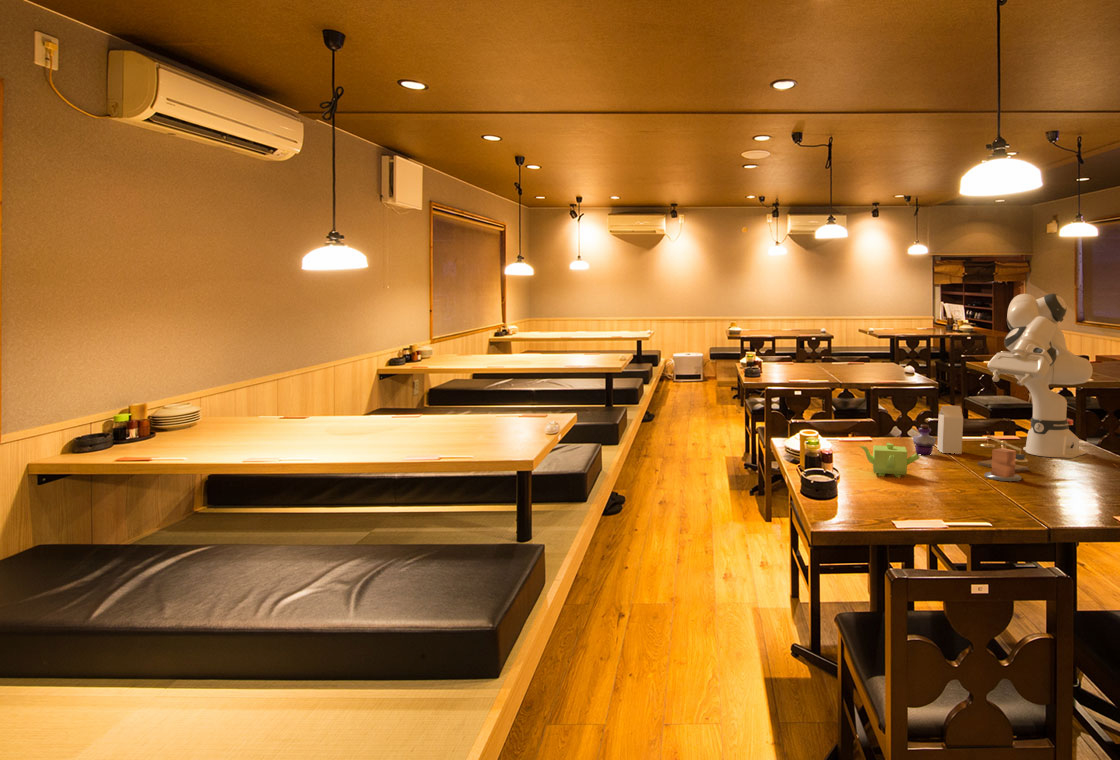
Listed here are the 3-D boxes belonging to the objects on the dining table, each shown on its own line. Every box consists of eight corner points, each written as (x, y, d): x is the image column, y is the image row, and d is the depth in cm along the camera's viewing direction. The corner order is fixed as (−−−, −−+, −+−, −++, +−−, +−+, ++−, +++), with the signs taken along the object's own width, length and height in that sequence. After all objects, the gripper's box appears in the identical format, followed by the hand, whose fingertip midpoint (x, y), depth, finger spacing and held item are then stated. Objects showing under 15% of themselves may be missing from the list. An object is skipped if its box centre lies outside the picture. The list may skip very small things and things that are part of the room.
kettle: (857, 472, 265) (858, 442, 264) (885, 468, 272) (886, 438, 270) (892, 481, 252) (893, 449, 251) (920, 476, 258) (921, 445, 257)
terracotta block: (1001, 473, 257) (1002, 448, 256) (1014, 476, 253) (1015, 450, 252) (991, 474, 255) (992, 449, 254) (1004, 477, 251) (1006, 452, 250)
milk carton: (961, 454, 292) (963, 407, 290) (942, 453, 293) (944, 407, 291) (955, 450, 299) (957, 404, 296) (937, 450, 300) (938, 404, 298)
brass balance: (987, 461, 278) (989, 433, 277) (1033, 471, 262) (1035, 441, 261) (973, 463, 275) (974, 435, 274) (1018, 473, 259) (1020, 443, 258)
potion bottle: (923, 451, 298) (924, 422, 297) (940, 455, 290) (942, 425, 289) (906, 453, 296) (907, 424, 294) (923, 457, 288) (924, 427, 286)
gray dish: (998, 472, 261) (998, 470, 261) (1028, 479, 251) (1028, 477, 251) (977, 476, 257) (977, 473, 257) (1007, 483, 247) (1007, 480, 247)
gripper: (995, 345, 277) (976, 373, 274) (1050, 350, 258) (1030, 380, 256) (1002, 355, 279) (983, 383, 277) (1057, 362, 261) (1038, 391, 259)
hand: (1006, 382), depth 266 cm, fingers open, 8 cm apart
